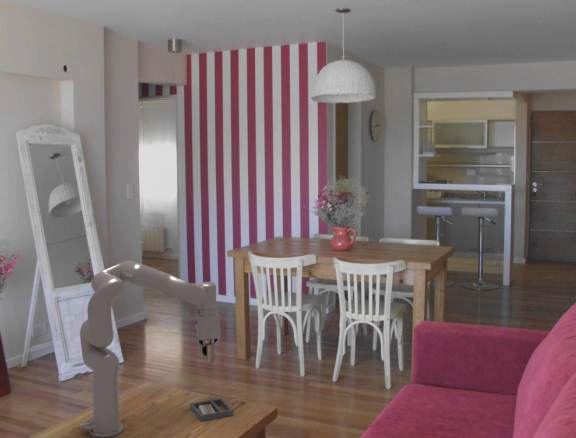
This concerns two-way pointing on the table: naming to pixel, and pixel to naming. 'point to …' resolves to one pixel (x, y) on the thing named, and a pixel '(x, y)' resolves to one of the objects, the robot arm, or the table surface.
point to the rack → (214, 403)
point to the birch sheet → (208, 353)
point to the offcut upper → (206, 409)
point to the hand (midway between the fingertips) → (207, 354)
